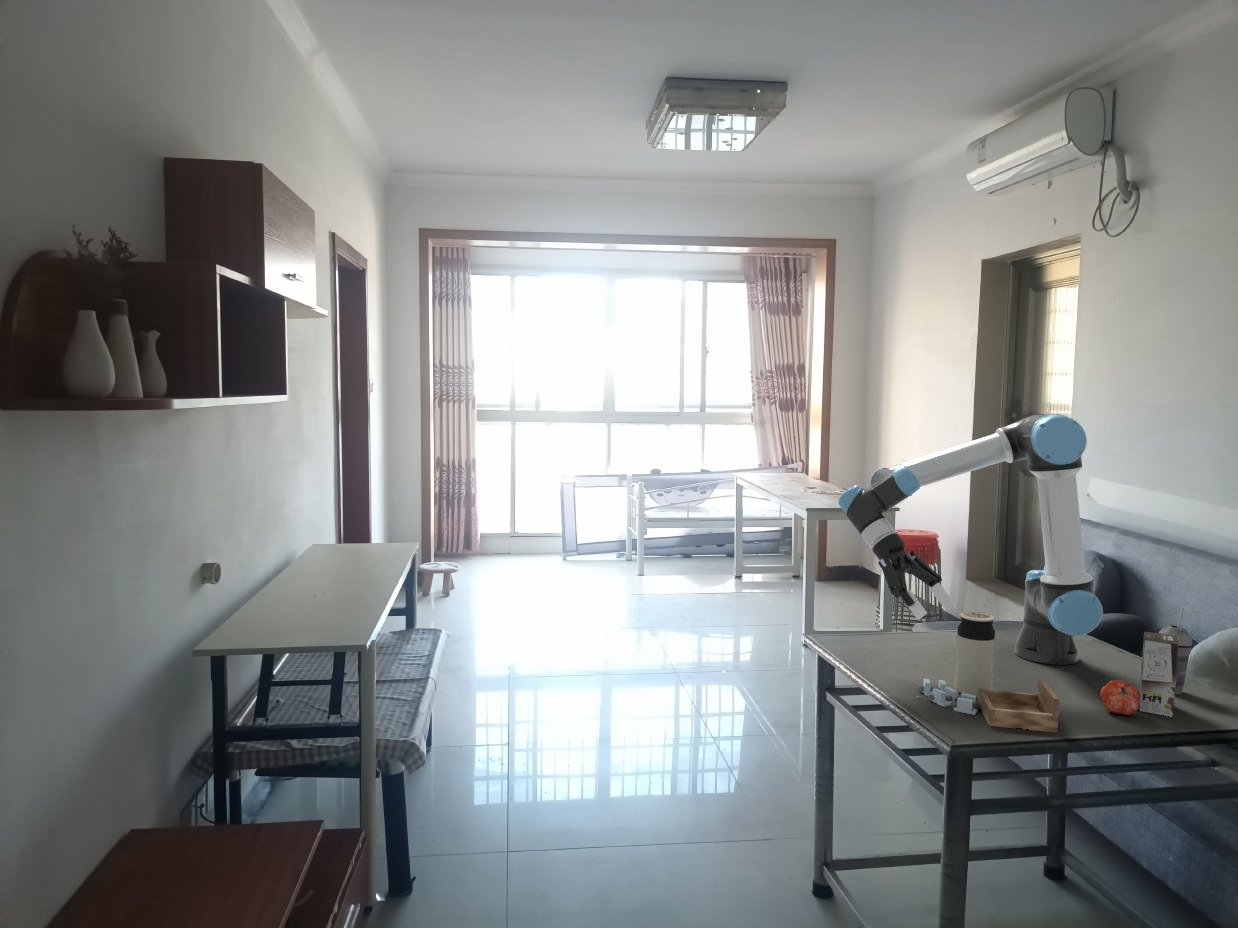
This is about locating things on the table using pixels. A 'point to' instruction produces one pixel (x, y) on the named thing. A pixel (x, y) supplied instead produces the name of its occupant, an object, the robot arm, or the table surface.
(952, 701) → the cable route
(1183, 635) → the beverage cup
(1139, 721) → the table surface
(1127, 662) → the table surface
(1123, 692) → the pomegranate
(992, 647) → the travel mug
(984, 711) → the wooden tray
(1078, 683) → the table surface
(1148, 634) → the coffee box
